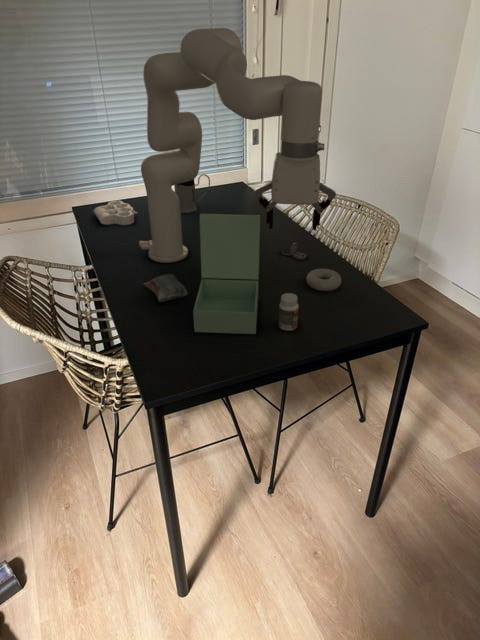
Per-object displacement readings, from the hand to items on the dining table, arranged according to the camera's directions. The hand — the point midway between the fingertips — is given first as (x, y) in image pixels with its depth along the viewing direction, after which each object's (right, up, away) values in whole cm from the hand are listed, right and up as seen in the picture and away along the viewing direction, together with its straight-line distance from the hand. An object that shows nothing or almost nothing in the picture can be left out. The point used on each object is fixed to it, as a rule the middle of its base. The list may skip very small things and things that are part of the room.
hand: (292, 227), depth 110 cm
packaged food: (-32, -14, +27) cm, 44 cm away
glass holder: (-30, +22, +83) cm, 91 cm away
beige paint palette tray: (-58, +18, +75) cm, 97 cm away
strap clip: (+5, 0, +48) cm, 48 cm away
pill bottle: (0, -22, +14) cm, 26 cm away
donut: (+12, -11, +32) cm, 36 cm away
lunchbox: (-15, -19, +18) cm, 30 cm away
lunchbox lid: (-14, -2, +17) cm, 22 cm away
